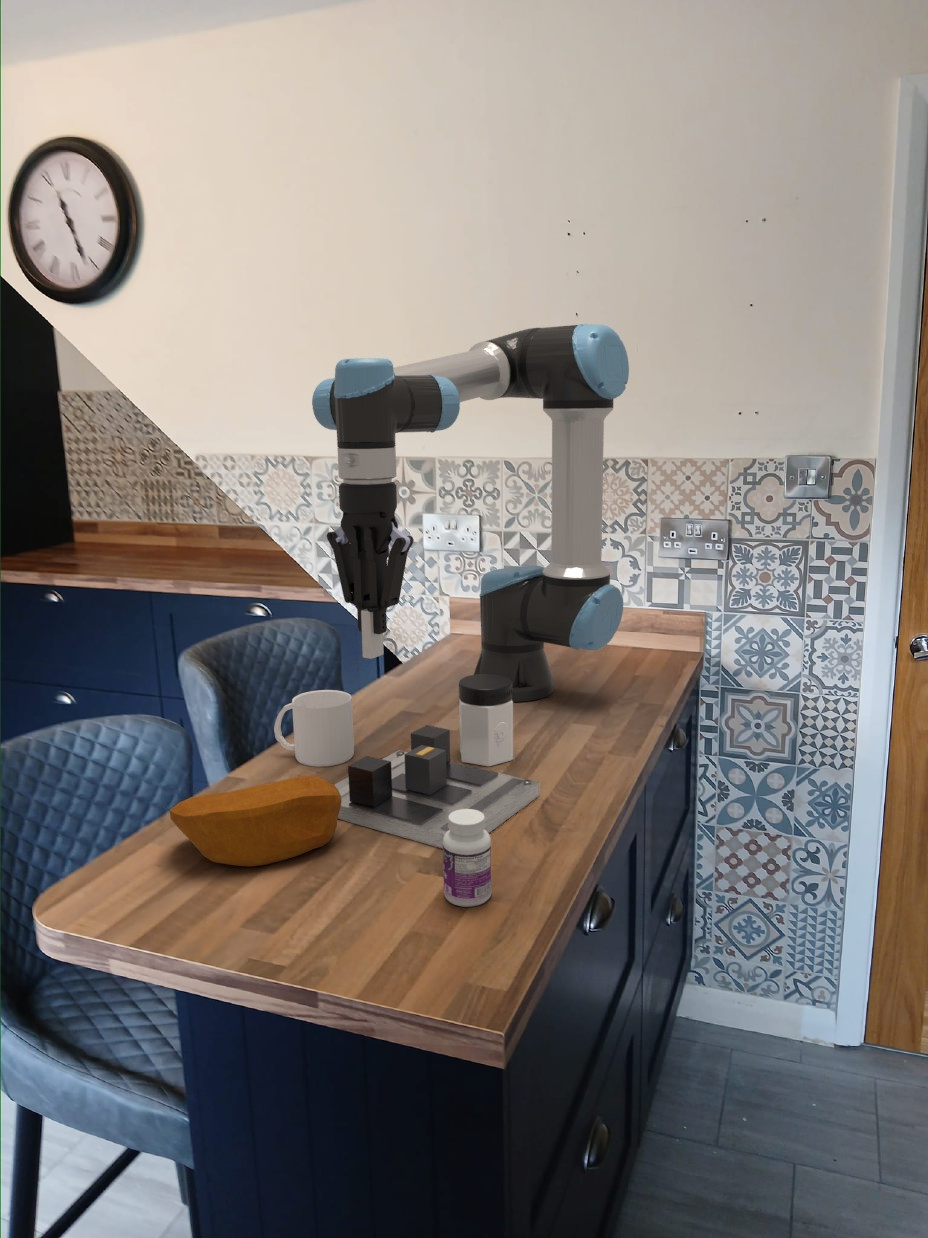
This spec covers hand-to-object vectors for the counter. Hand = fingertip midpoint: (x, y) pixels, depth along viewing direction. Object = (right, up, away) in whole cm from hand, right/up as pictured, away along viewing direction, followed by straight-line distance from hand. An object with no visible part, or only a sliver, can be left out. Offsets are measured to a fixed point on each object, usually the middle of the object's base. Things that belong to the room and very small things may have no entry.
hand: (373, 655), depth 130 cm
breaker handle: (+7, -18, 0) cm, 19 cm away
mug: (-11, -16, +19) cm, 27 cm away
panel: (+7, -20, +1) cm, 21 cm away
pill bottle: (+13, -26, -24) cm, 37 cm away
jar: (+16, -16, +17) cm, 28 cm away
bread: (-13, -24, -11) cm, 29 cm away
